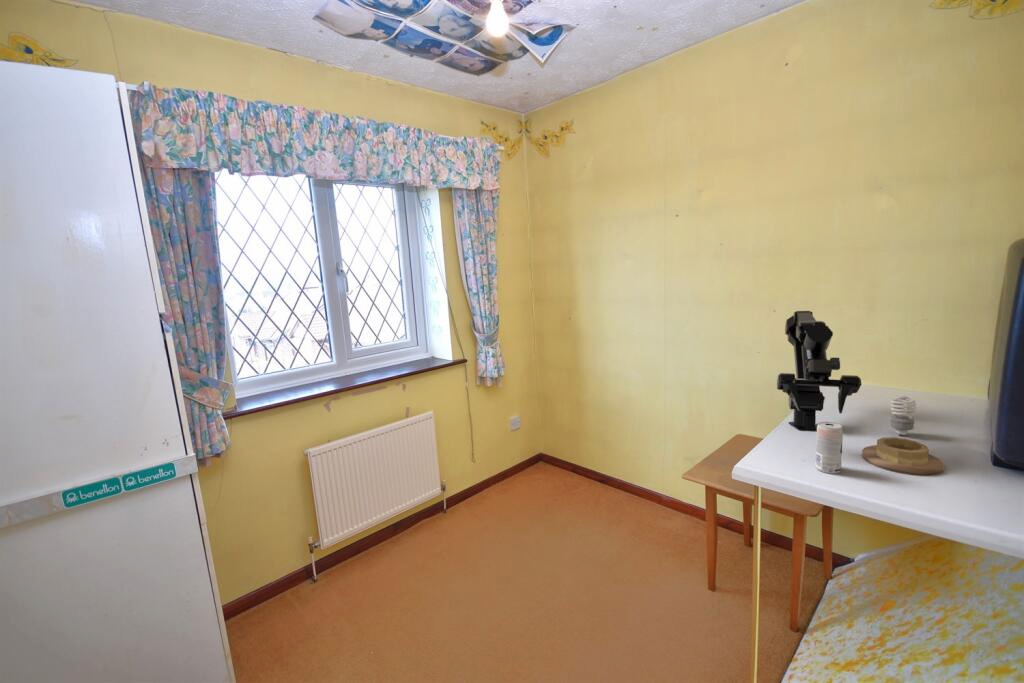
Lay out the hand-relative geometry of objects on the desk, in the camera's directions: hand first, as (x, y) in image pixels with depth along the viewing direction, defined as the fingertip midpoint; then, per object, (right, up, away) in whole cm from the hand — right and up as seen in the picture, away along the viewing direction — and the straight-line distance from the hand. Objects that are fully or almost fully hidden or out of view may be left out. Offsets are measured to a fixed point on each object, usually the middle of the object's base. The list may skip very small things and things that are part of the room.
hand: (819, 411), depth 118 cm
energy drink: (-1, -14, -5) cm, 15 cm away
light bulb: (+33, -9, +13) cm, 37 cm away
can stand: (+19, -12, -3) cm, 23 cm away
